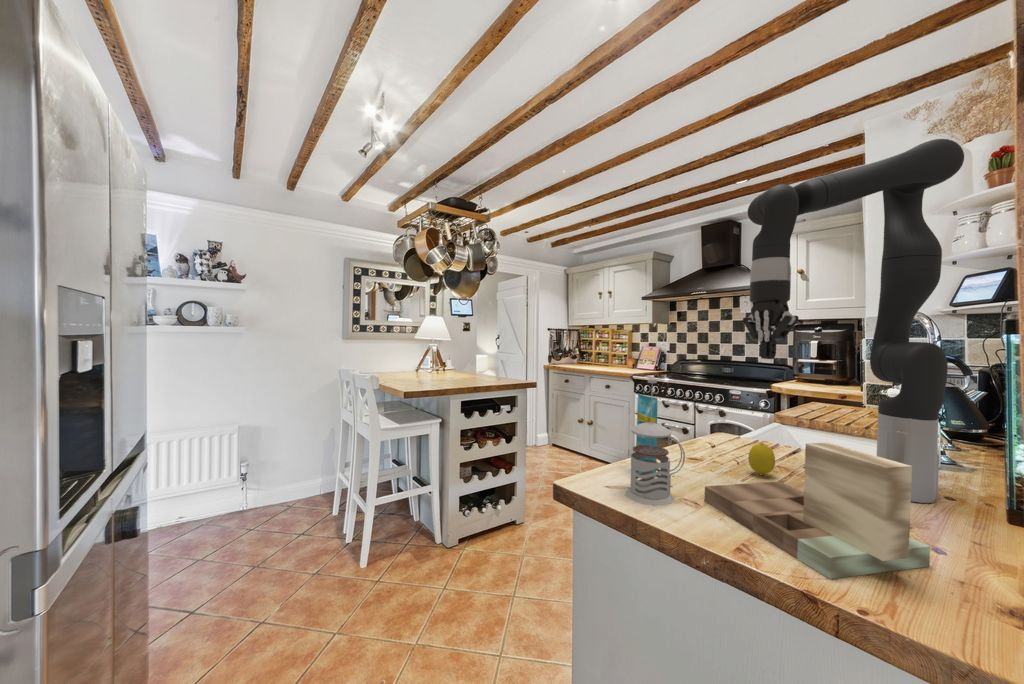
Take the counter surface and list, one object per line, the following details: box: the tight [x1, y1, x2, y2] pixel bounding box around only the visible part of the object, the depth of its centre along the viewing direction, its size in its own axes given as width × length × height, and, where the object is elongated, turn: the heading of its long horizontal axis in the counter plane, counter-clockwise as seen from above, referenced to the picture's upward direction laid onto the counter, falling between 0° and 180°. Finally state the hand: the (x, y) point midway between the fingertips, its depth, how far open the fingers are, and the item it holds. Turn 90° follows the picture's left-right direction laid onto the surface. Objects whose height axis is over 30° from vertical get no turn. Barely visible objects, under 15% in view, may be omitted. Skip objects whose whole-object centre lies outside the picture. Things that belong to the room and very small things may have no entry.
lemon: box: [747, 442, 776, 476], centre depth 96 cm, size 6×6×8 cm
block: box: [803, 442, 912, 561], centre depth 60 cm, size 4×12×13 cm, turn 11°
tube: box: [635, 393, 658, 478], centre depth 95 cm, size 7×5×19 cm, turn 23°
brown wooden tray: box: [704, 480, 931, 580], centre depth 69 cm, size 18×26×3 cm
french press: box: [625, 376, 686, 507], centre depth 82 cm, size 10×12×25 cm
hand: (767, 358), depth 87 cm, fingers closed
